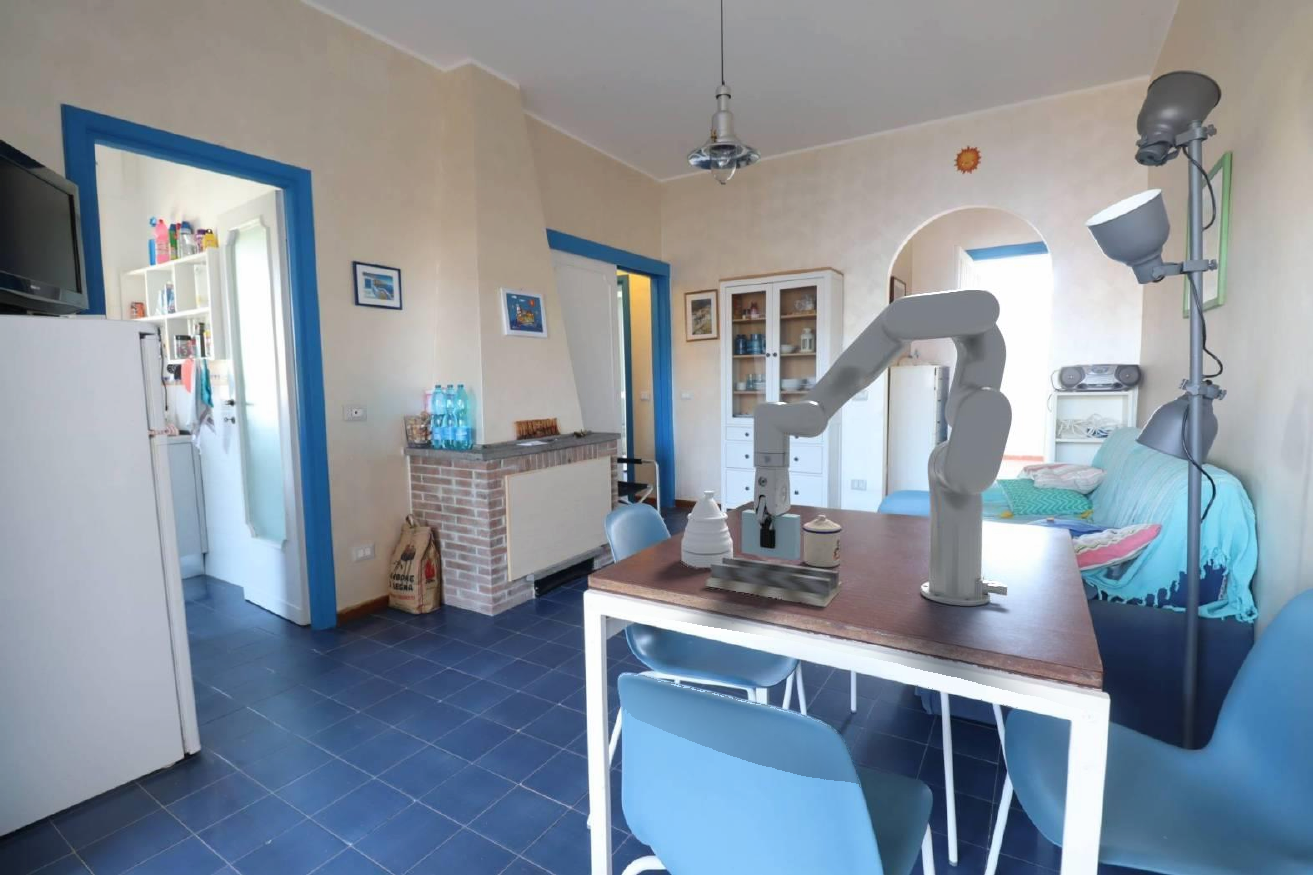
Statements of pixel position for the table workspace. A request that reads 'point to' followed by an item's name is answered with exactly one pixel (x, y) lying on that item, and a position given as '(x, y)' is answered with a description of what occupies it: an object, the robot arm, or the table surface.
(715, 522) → the honey pot
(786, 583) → the track board
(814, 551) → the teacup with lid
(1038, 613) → the table surface
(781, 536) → the door panel
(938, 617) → the table surface
